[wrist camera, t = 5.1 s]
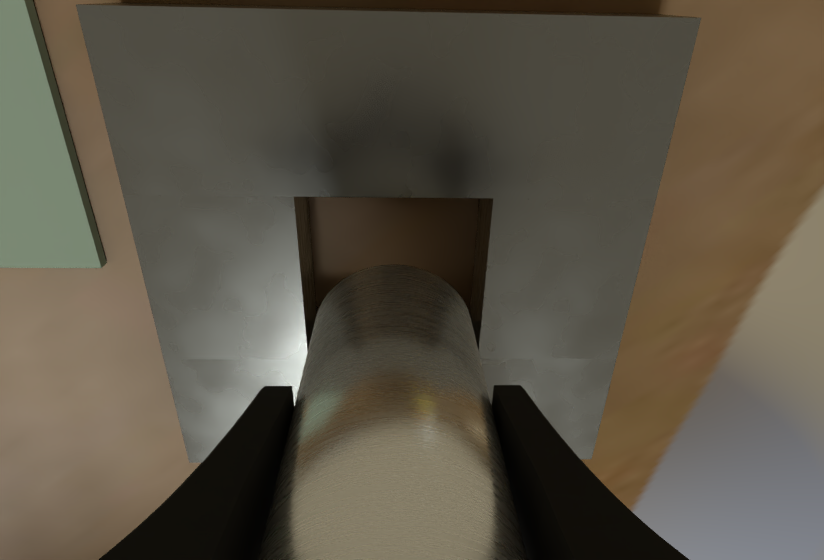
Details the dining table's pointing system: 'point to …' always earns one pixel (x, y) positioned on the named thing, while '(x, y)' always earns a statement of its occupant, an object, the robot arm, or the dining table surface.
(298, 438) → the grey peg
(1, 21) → the mat
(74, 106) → the dining table surface
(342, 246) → the dining table surface
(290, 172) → the socket block
